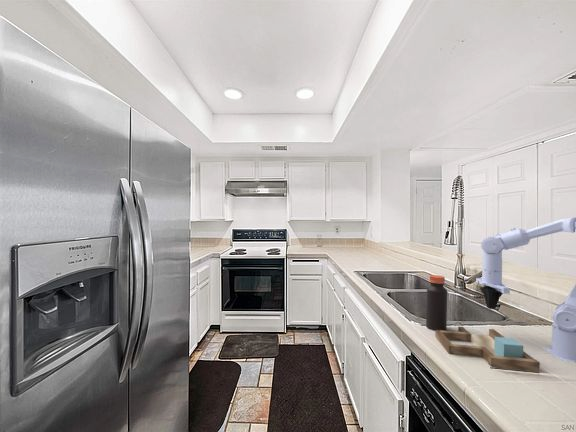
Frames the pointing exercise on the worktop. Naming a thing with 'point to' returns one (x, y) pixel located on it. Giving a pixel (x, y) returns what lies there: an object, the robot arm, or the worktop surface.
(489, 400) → the worktop surface
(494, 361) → the wooden zigzag frame
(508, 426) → the worktop surface
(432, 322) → the bottle
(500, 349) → the block
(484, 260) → the robot arm
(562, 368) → the worktop surface
